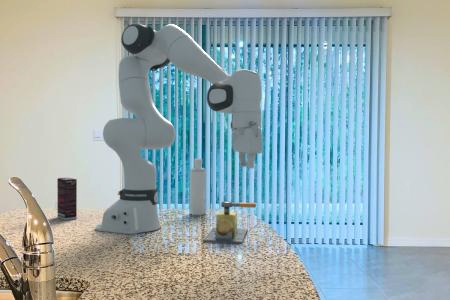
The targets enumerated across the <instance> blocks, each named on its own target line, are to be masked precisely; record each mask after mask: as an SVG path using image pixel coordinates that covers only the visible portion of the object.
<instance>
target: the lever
mask: <svg viewBox="0 0 450 300" xmlns="http://www.w3.org/2000/svg"><path fill="white" fill-rule="evenodd" d="M220 205H221V208H224V207H230V208H234V207H235V208H236V207H238V208H252V209H253V208H256V207H257V203H256V202H241V201H240V202H233V201H230V200H229V201H228V200H226V201H224V200H223V201H221V204H220Z"/></svg>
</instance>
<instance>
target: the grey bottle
mask: <svg viewBox="0 0 450 300" xmlns="http://www.w3.org/2000/svg"><path fill="white" fill-rule="evenodd" d="M193 164H194V167H192V168H191V169H190V170H189V171H190V173H189V175H190V176H189V214H190V215H191V214H192V216H204V215H206V214H207V212H206V211H207V210H206V209H207V201H206V200H207V169H205V168H204V167H203V166H202V165H203V158H193Z"/></svg>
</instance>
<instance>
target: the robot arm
mask: <svg viewBox="0 0 450 300" xmlns="http://www.w3.org/2000/svg"><path fill="white" fill-rule="evenodd" d="M120 40H121V42H120V43H121V45H122V47H123V49H125V50H126V51H127V52H128V53H130V55H126V56H124V57H123V58H122V59H120V61H119V64H118V88H119V89H118V90H119V96H120V97H119V98H120V104H121V106H122V108H124V110H126V111H127V112H129V113H131V115H134V116H135V118H134V117H131V118H130V117H120V118H113V119H109V120H108V121H107V122H106V124H105V125H104V127H103V129H102V130H103V131H102V137H103V140H104V142H105V144H106V146H108V147H109V148H110V149H111V150H113V151H114V152H115V153H116V155H117V156H118V158H119V159H120V162H121V163H122V167H123V175H124V176H123V178H124V180H123V181H124V188H122V189H121V190H119V191H117V196H119V199H118V200H117V201H115V202H114V203H113V204H112V205H110V206H109V207H107V208H106V209H105V210H104V212H103V215H102V221H101V222H100V223H98V224H97V225H95V231H97V232H98V231H100V232H107V233H116V234H117V233H118V234H127V235H132V234H138V233H139V234H140V233H145V232H153V231H157V230H159V229H160V228H161V227H162V226H161V221H160V219H159V213H158V200H159V191H158V188H157V168H156V165H155V164H154V163H153V162H151V161H150V160H148V159H146V158H144V157H143V155H142V152H141V151H142V150H161V149H165V148H170V147H171V146H172V145H173V144H174V141H175V139H176V135H177V133H176V129H175V126H174V124H172V122H171V121H169V120H168V119H166V117H164V116H163V115H162V114H161V112H160V111H159V110H158V108H157V107H156V105H155V103H154V101H153V94H152V91H151V85H150V78H149V71H151V72H156V71H157V70H159V69H162V68H164V67H166V66H168V65H169V64H170V63H171V64H172V65H173V66H174V67H175V68H176V69H178V70H179V71H180V72H183V73H185V74H189V75H192V76H194V77H198V78H201V79H203V80H205V81H208V83H210V84H212V85H210V87H209V89H208V90H207V93H206V103H207V105H208V108H210V110H212V111H214V112H217V113H222V114H230V115H232V120H231V121H230V129H231V130H232V131H231V134H232V135H231V138H232V141H231V142H232V149H233V152H237V153H238V158H239V167H246V168H247V169H254V167H255V160H256V155H257V154H262V151H263V132H262V109H261V102H262V95H263V94H262V81H261V76H260V74H259V73H258V72H257V71H254V70H249V69H244V68H243V69H242V68H240V69H237V70H234V72H232V74H231V75H230V74H229V73H228V72H226V70H224V69H223V68H222V67H221V66H220V65H219V64H217V62H215V61H214V60H213V59H212V57H210V56H209V55H208V53H206V51H205V50H204V49H203V48H202V47H201V46H200V45H199V43H197V42H196V41H195V40H194V39H193V38H192V37H191V35H190V34H188V33H187V32H186V31H185V30H183V28H180V27H179V26H177V25H175V24H174V23H173V24H172V23H170V24H166V25H164V26H163V27H161V28H160V29H159V30H154V28H153V27H152V26H151V25H150V26H148V25H144V24H141V23H131V24H128V26H126V27H125V28H124V30H123V31H122V34H121V38H120Z"/></svg>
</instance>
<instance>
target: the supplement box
mask: <svg viewBox="0 0 450 300" xmlns="http://www.w3.org/2000/svg"><path fill="white" fill-rule="evenodd" d="M56 180H57V186H56V187H57V218H58V219H61V220H63V221H72V220H77V218H78V217H77V211H78V210H77V203H78V202H77V201H78V199H77V195H78V193H77V192H78V191H77V190H78V189H77V185H78V183H77V178H71V177H58V178H57V179H56Z"/></svg>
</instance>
